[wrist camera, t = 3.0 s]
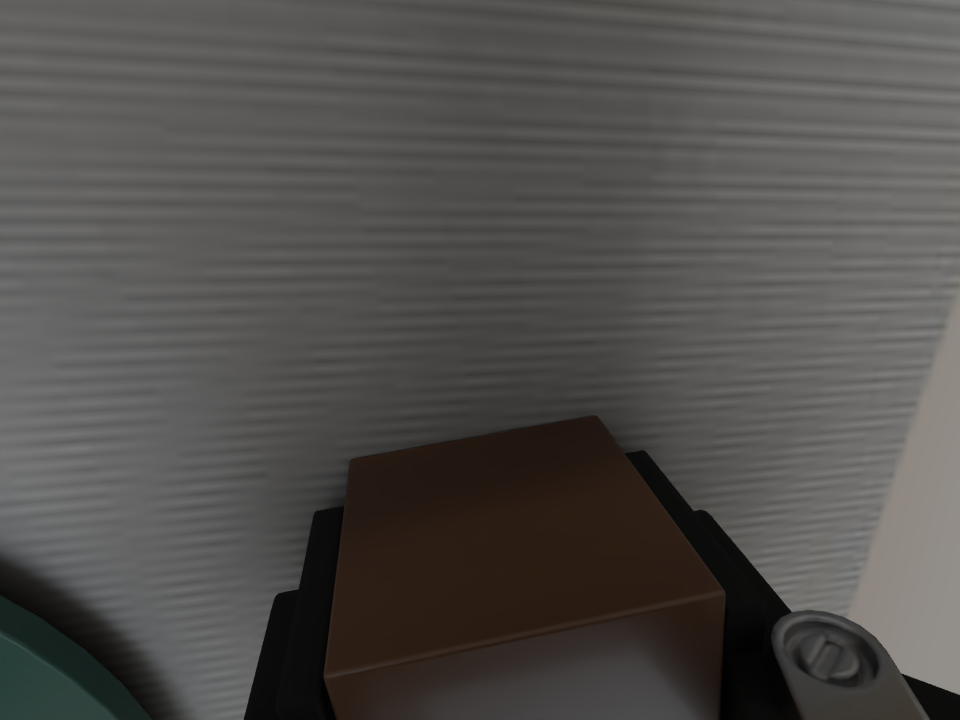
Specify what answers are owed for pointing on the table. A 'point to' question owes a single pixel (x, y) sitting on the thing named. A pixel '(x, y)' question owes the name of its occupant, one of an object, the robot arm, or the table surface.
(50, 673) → the lid
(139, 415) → the table surface
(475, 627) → the block
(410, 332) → the table surface
